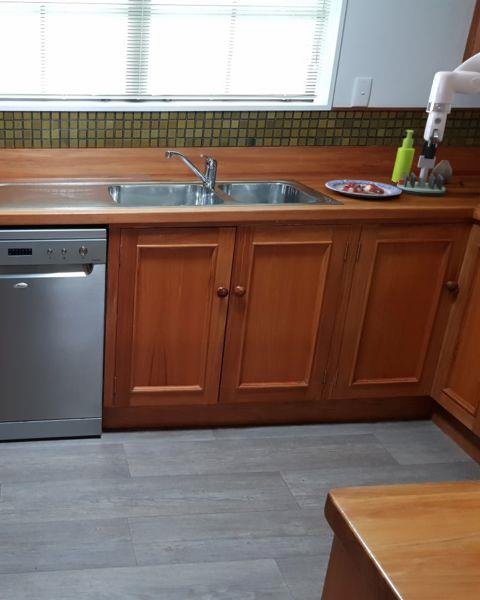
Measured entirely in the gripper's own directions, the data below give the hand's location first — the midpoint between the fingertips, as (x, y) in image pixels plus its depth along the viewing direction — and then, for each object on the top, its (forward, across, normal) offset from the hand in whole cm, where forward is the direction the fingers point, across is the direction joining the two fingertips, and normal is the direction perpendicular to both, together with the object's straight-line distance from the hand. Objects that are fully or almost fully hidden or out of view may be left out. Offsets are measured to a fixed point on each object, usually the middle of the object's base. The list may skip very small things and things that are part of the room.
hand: (426, 156), depth 223 cm
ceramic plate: (+13, -12, +20) cm, 27 cm away
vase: (+13, +22, -10) cm, 28 cm away
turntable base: (+13, 0, 0) cm, 13 cm away
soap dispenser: (+13, +18, +5) cm, 23 cm away
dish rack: (+12, 0, 0) cm, 12 cm away
